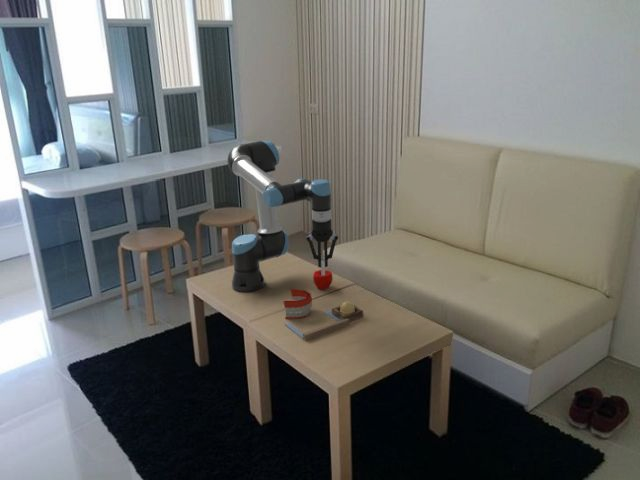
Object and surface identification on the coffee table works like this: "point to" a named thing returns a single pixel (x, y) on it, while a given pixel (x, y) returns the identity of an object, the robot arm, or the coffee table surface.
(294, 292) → the toy
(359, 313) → the base
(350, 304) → the pale yellow sphere
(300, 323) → the coffee table surface
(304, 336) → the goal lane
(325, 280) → the apple
